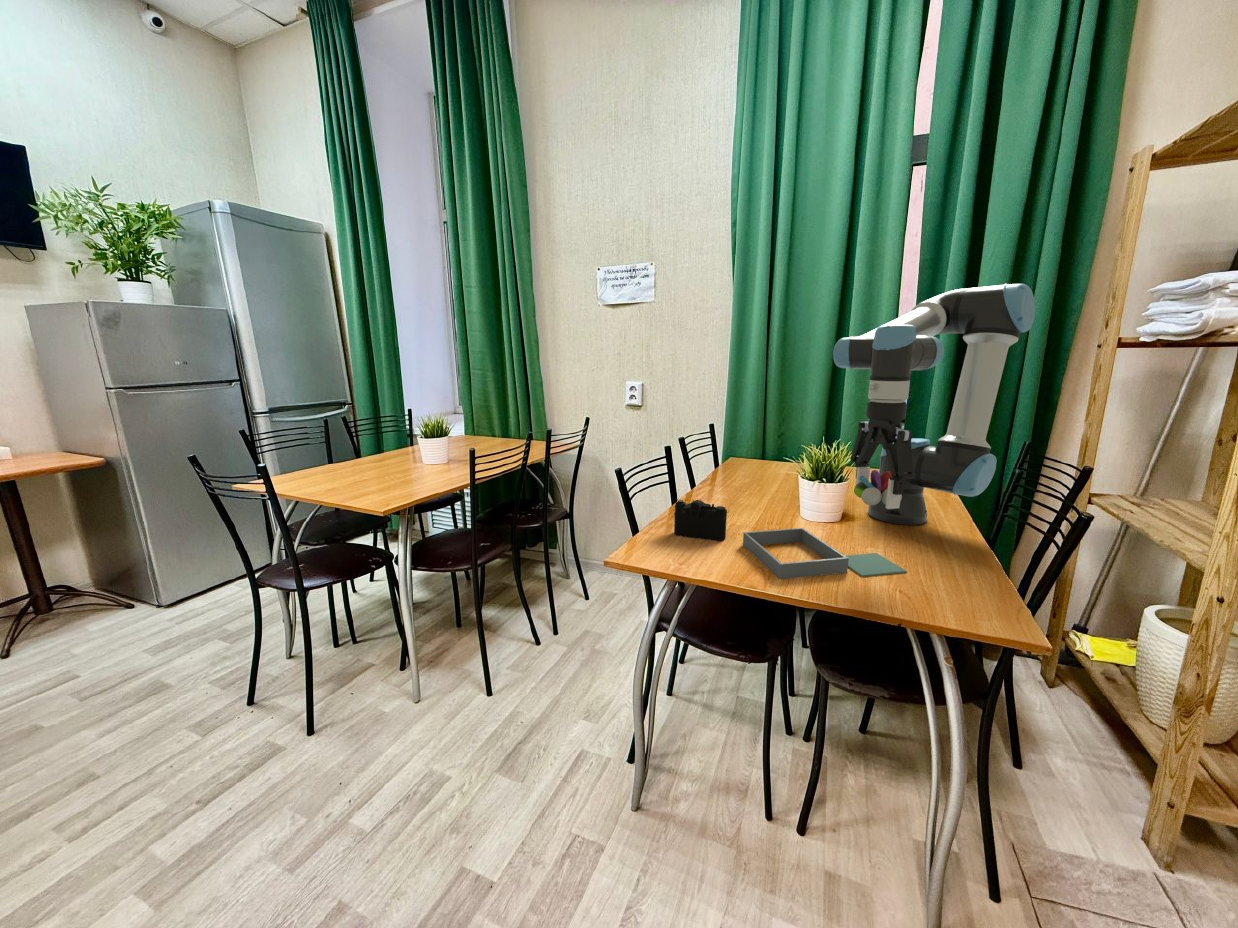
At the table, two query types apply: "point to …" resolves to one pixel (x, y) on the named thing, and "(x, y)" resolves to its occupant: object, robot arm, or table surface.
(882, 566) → the mat
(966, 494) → the robot arm
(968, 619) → the table surface
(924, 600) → the table surface
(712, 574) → the table surface
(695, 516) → the camera
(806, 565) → the bin
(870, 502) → the rainbow petal fan figurine
